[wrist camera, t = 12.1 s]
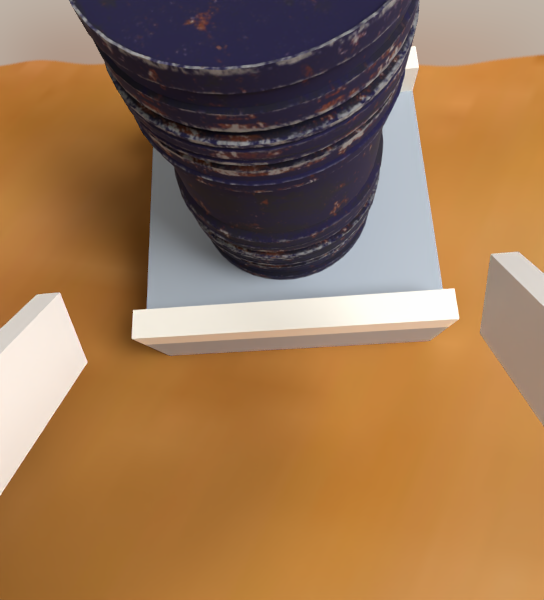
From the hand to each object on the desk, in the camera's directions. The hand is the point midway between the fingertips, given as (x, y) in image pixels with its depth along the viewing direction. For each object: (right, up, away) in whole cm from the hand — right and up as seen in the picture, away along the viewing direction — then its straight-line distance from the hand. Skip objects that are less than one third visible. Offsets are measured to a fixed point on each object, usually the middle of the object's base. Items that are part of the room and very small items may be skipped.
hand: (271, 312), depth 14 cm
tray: (+1, +5, +15) cm, 16 cm away
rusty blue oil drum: (+1, +6, +12) cm, 13 cm away
